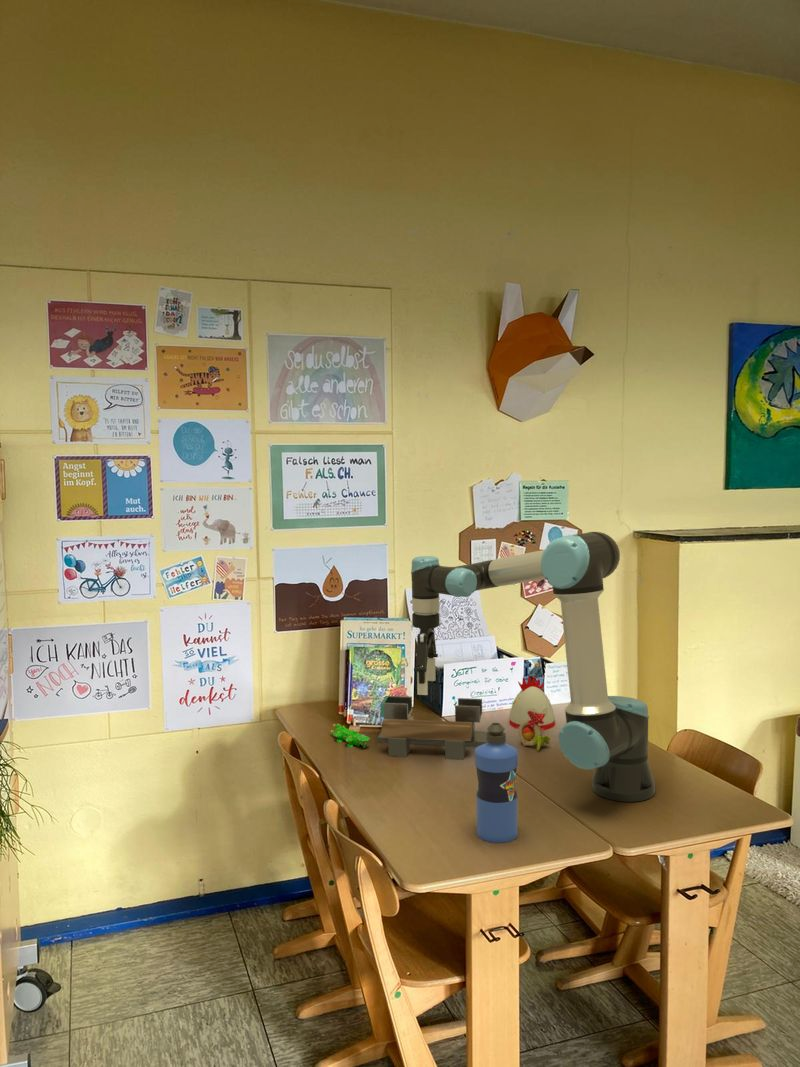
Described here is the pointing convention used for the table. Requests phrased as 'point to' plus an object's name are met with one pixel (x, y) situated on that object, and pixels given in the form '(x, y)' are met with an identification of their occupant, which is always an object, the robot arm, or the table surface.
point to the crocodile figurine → (349, 736)
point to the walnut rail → (427, 729)
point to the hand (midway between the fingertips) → (426, 687)
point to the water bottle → (496, 787)
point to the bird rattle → (528, 731)
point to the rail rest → (402, 747)
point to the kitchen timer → (531, 705)
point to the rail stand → (463, 713)
